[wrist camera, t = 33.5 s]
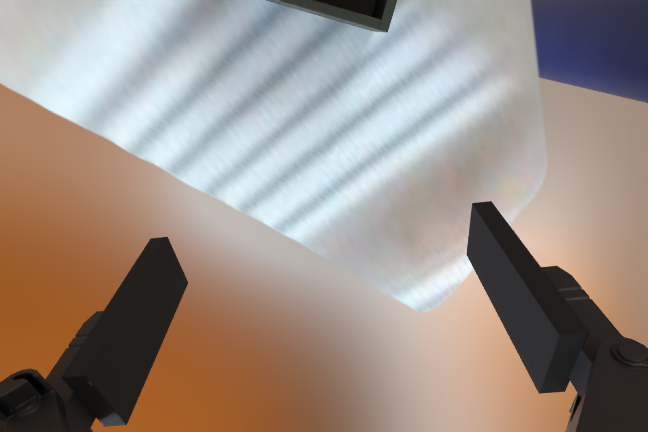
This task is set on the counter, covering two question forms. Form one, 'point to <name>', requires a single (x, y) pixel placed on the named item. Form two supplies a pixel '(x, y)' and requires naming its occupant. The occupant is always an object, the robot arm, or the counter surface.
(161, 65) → the counter surface
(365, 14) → the open dark gray bin
